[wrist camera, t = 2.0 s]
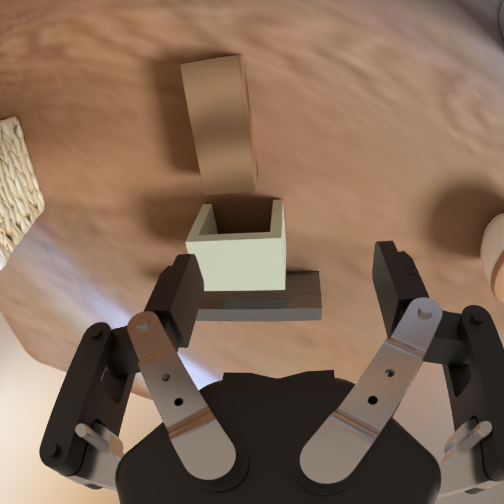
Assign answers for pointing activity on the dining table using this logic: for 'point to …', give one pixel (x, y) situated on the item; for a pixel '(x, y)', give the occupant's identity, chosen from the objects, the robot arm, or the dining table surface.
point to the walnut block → (221, 124)
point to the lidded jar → (494, 255)
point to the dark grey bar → (266, 302)
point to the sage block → (239, 254)
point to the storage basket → (16, 188)
